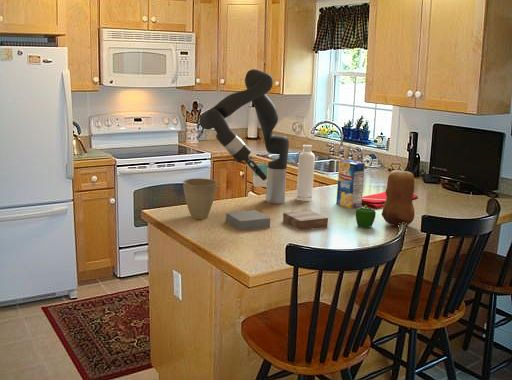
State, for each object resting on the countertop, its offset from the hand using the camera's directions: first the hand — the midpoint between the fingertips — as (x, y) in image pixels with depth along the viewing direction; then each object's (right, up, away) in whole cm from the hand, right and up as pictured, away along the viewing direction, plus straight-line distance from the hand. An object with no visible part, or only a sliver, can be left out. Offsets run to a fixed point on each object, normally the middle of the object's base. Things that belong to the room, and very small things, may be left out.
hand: (264, 177), depth 245 cm
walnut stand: (+18, -20, +8) cm, 28 cm away
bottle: (+21, -10, +54) cm, 59 cm away
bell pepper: (+44, -21, +9) cm, 50 cm away
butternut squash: (+59, -21, +12) cm, 64 cm away
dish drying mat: (+64, -12, +59) cm, 88 cm away
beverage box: (+43, -13, +46) cm, 64 cm away
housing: (-2, -3, 0) cm, 4 cm away
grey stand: (-7, -20, +4) cm, 22 cm away
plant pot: (-29, -17, +12) cm, 36 cm away
